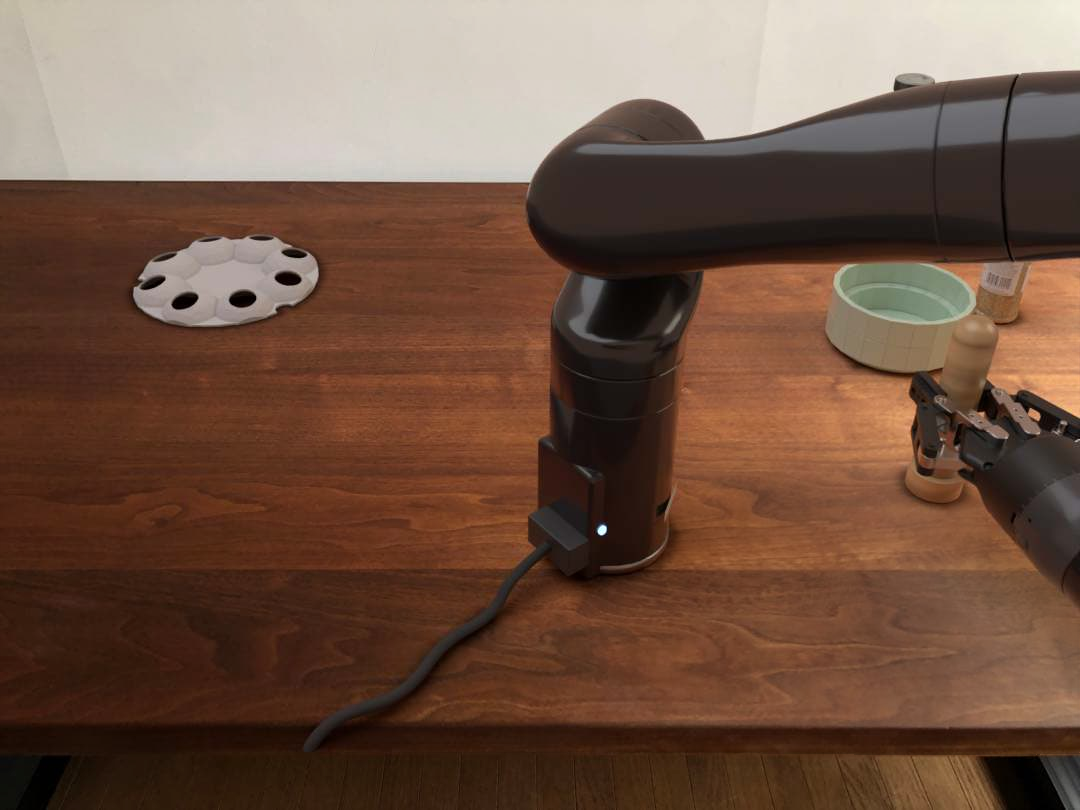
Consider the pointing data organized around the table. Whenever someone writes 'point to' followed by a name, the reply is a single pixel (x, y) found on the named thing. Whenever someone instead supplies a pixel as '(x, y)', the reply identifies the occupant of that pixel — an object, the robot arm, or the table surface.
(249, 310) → the paint palette
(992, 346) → the pestle
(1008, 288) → the sprinkles bottle
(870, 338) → the bowl
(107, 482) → the table surface
